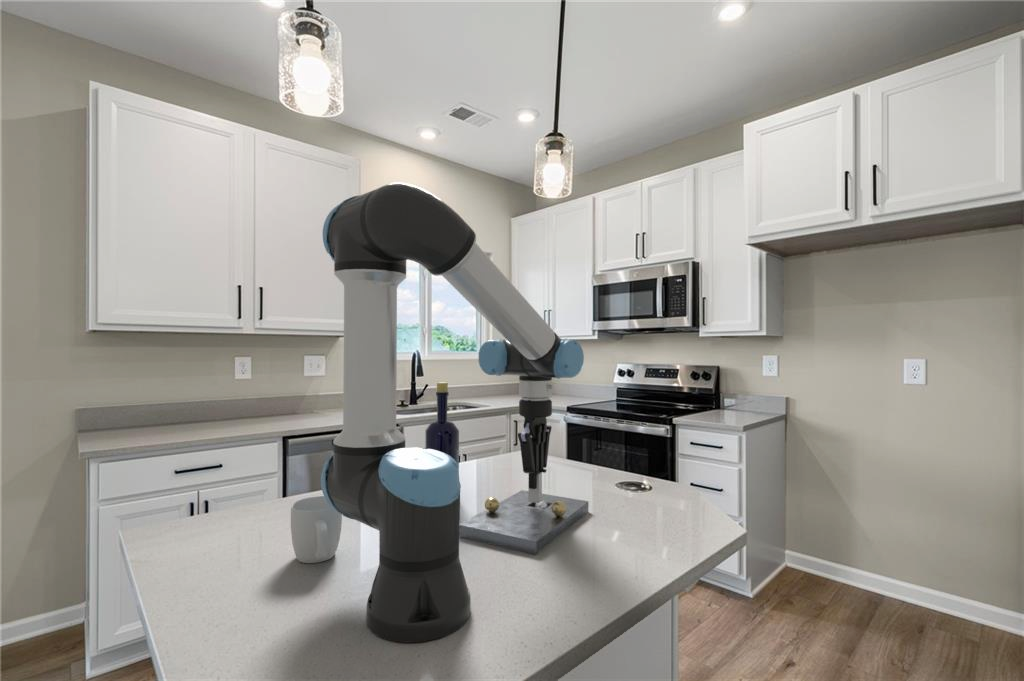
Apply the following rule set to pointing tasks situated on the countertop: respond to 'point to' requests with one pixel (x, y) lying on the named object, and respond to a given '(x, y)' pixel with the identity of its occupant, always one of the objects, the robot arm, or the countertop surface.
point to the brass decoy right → (558, 508)
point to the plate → (523, 523)
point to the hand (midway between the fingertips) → (535, 501)
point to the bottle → (443, 428)
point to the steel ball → (541, 505)
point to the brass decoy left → (491, 504)
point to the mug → (315, 529)
